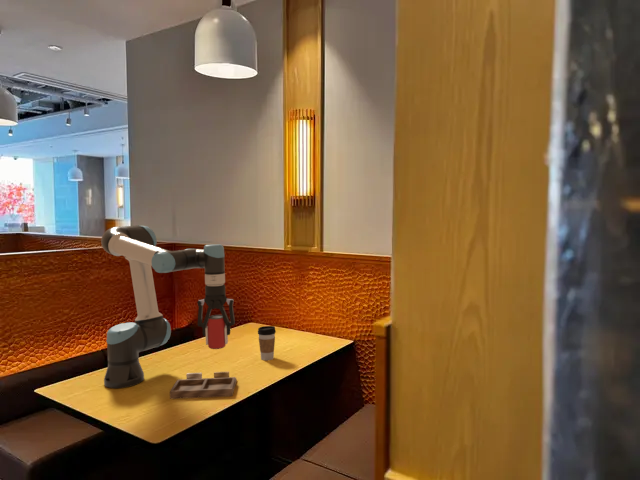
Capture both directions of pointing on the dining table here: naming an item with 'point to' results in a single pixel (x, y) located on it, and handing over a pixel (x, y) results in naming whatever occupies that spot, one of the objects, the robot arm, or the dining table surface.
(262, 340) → the coffee cup
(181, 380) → the brown desk organizer
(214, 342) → the beer can
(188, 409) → the dining table surface
